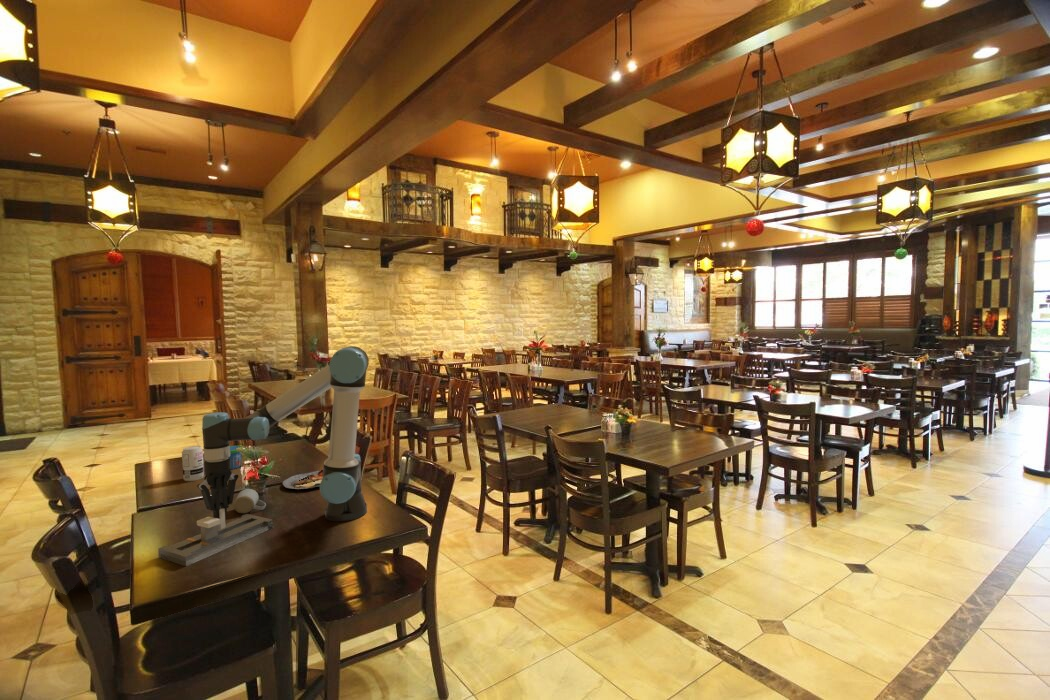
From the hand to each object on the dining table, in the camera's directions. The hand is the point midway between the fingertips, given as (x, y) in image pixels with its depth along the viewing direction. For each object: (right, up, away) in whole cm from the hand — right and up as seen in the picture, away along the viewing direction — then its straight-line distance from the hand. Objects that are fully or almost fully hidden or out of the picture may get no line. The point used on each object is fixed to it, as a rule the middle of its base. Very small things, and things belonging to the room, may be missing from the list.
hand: (220, 527), depth 167 cm
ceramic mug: (-5, -3, +28) cm, 28 cm away
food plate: (+6, -1, +59) cm, 60 cm away
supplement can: (-54, -1, +68) cm, 87 cm away
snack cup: (-46, 0, +85) cm, 97 cm away
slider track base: (0, -5, -1) cm, 5 cm away
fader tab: (-1, -3, -4) cm, 5 cm away
